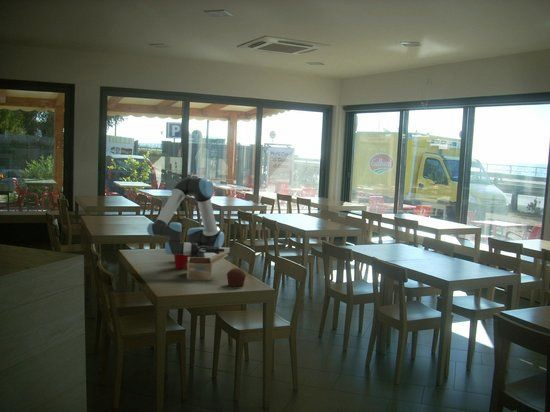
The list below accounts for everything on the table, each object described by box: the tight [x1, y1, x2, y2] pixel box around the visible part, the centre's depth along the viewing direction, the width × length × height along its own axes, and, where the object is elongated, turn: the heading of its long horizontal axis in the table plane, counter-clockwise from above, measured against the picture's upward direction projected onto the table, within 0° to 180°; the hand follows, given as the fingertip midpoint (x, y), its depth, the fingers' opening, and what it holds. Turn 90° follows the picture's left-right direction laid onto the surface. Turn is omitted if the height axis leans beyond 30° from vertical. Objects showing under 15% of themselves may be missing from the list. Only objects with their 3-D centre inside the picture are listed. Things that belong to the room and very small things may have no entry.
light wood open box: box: [186, 257, 213, 281], centre depth 353 cm, size 21×14×10 cm
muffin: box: [226, 267, 247, 288], centre depth 334 cm, size 12×11×10 cm
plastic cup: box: [173, 255, 188, 270], centre depth 373 cm, size 11×11×12 cm
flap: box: [210, 252, 229, 265], centre depth 354 cm, size 19×1×10 cm
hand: (229, 250), depth 354 cm, fingers closed
